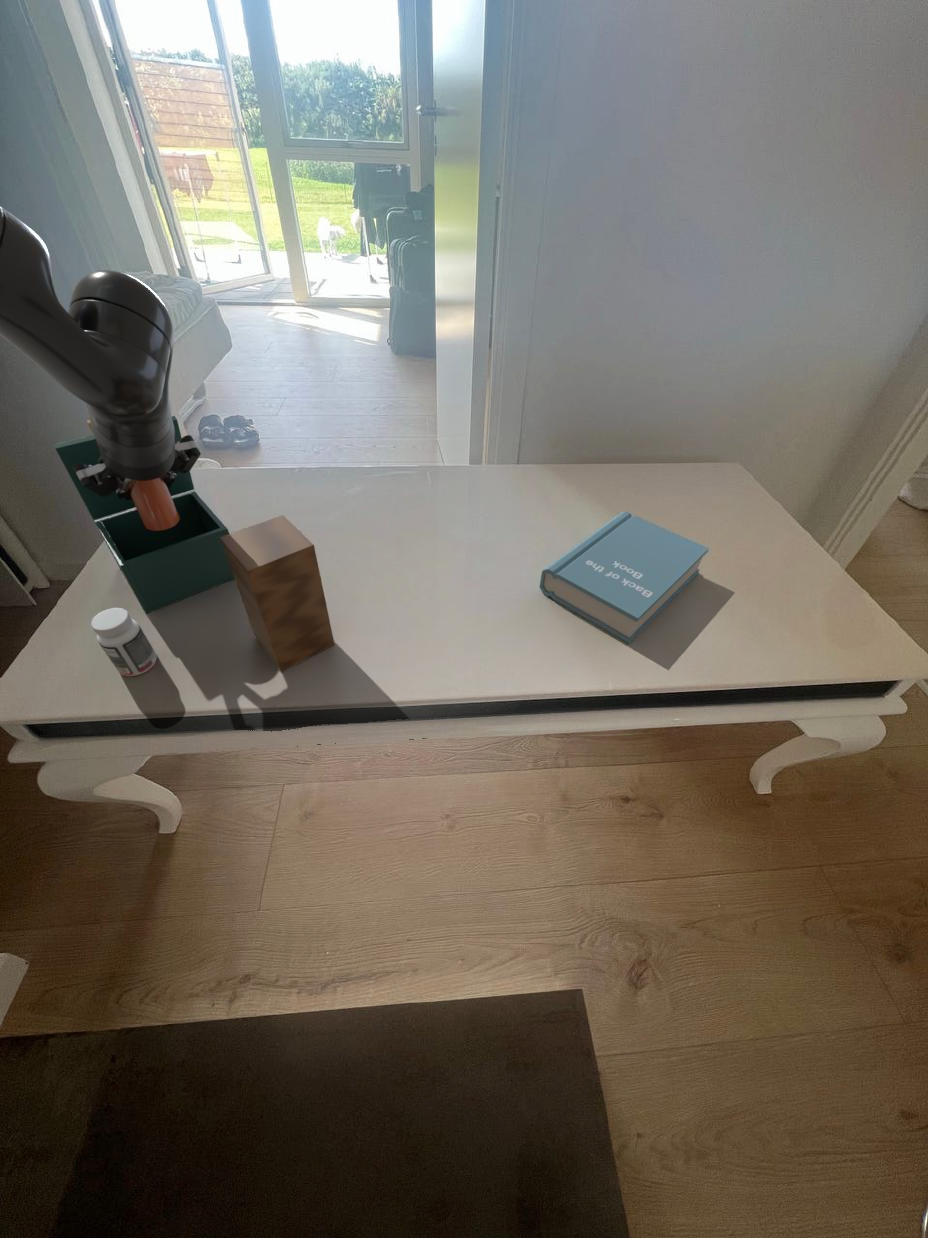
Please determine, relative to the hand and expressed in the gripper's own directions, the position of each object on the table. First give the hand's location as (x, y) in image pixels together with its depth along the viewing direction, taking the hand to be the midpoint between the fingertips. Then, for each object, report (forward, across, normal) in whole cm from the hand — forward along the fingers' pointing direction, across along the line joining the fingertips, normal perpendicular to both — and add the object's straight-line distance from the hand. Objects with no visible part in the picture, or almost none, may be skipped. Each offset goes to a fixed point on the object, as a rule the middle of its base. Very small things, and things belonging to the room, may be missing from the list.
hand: (145, 487), depth 71 cm
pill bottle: (+1, +11, +22) cm, 24 cm away
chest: (+12, 0, +10) cm, 15 cm away
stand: (-6, -7, +28) cm, 29 cm away
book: (-20, -54, +42) cm, 71 cm away
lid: (+3, 0, -4) cm, 5 cm away
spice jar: (+2, 0, +5) cm, 5 cm away
